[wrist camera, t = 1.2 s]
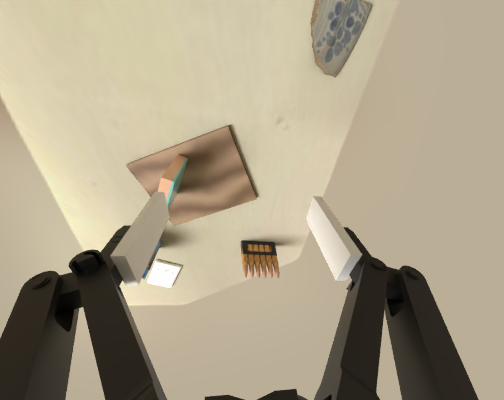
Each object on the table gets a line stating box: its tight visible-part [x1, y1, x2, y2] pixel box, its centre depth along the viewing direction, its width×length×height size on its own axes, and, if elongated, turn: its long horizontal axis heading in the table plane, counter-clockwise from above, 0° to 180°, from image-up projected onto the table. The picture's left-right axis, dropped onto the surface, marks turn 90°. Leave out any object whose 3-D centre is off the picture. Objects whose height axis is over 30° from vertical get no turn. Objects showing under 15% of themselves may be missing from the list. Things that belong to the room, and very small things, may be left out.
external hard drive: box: [147, 259, 182, 288], centre depth 63 cm, size 2×8×12 cm
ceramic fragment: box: [311, 0, 372, 77], centre depth 31 cm, size 11×3×10 cm
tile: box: [158, 154, 188, 211], centre depth 38 cm, size 2×10×11 cm, turn 154°
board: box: [126, 126, 256, 226], centre depth 44 cm, size 19×24×1 cm
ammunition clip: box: [241, 241, 279, 278], centre depth 53 cm, size 11×2×12 cm, turn 81°
